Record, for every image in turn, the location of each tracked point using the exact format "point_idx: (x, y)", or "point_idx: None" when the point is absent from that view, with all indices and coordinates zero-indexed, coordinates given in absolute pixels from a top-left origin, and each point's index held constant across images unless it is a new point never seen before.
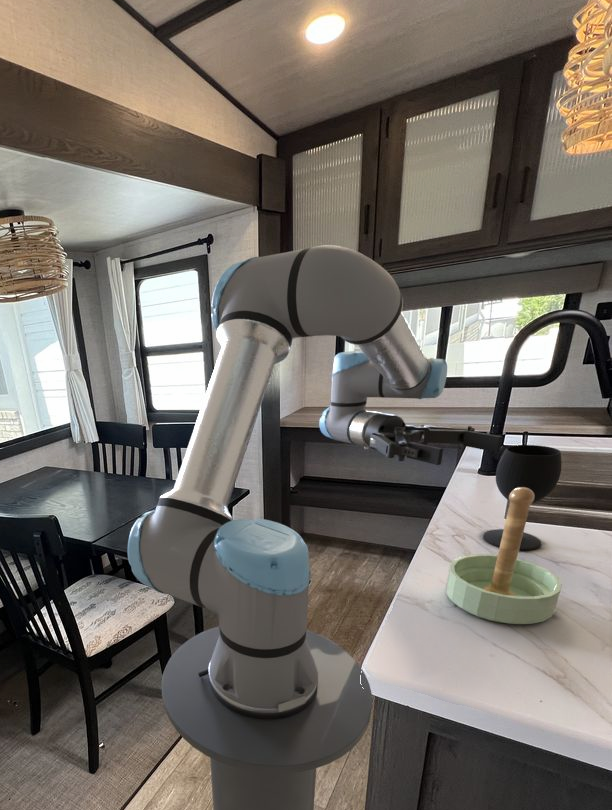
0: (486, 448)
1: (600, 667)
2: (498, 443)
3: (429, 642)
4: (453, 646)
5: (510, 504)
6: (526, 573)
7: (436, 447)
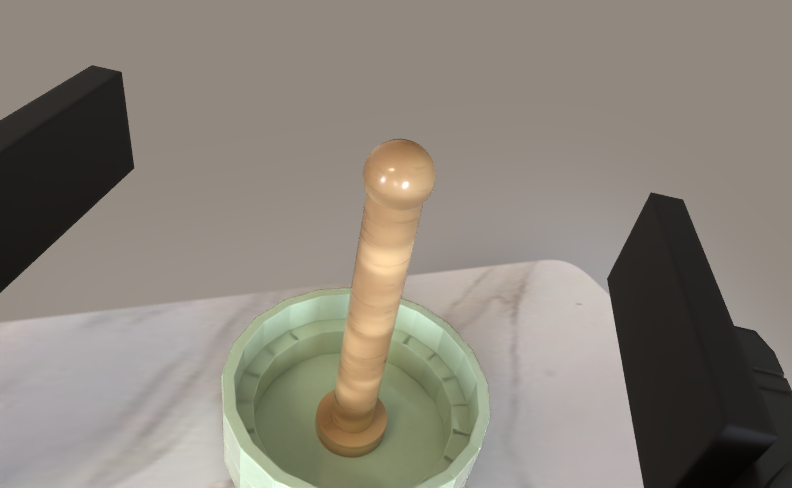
0: (88, 196)
1: (430, 274)
2: (125, 114)
3: (630, 461)
4: (593, 425)
5: (416, 212)
6: (241, 377)
7: (670, 222)
